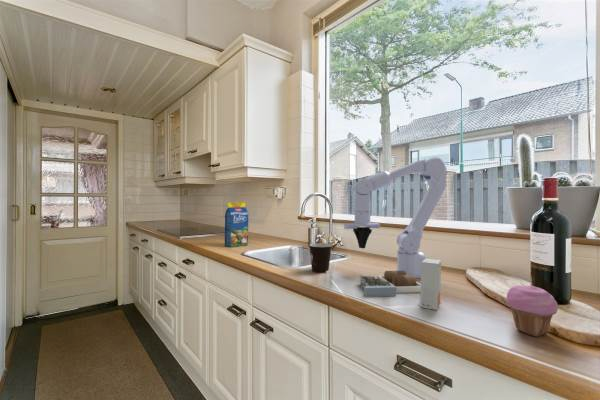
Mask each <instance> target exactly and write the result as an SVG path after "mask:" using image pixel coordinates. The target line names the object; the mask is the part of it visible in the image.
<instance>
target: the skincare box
mask: <svg viewBox="0 0 600 400" xmlns="http://www.w3.org/2000/svg"><path fill="white" fill-rule="evenodd" d="M441 274H442V260H441V259H432V258H426V259H425V260H423V261H422V262H421V278H420V284H421V292H420V295H419V296H420V297H419V298H420V299H419V302H420V304H419V305H420V306H419V307H420V308H422V309H423V308H424V309H428V310H429V309H430V310H434V311H438V308H439V306H440V304H441V287H442V286H441V283H442V282H441V281H442V279H441V278H442V275H441Z"/></svg>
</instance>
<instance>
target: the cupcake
mask: <svg viewBox="0 0 600 400" xmlns="http://www.w3.org/2000/svg"><path fill="white" fill-rule="evenodd" d="M506 304H507V306H509V309H510V311H511V313H512V316H513V322H514V325H515V328H516V329H517V330H518V331H520V332H522V333H526V334H527V335H529V336H532V337H540V336H542V335H547V334H548V333H549V332H550V329H551V321H552V318H553V315H555V314H557V312H558V309H559V305H558V302H557V301H556V299H555V297H554V296H553V295H552V294H551V293H549V292H548V291H547V290H545V289H544V288H541V287H537V286H533V285H513V286H512V287H510V288H509V289H508V291H507V294H506Z"/></svg>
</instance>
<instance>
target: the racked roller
mask: <svg viewBox="0 0 600 400" xmlns="http://www.w3.org/2000/svg"><path fill="white" fill-rule="evenodd" d="M393 275H406V272H405V271H397V270H385V271H384V274H383V276H384V279H385V280H387V281H388V282H390V283H392V277H393Z"/></svg>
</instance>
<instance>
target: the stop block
mask: <svg viewBox="0 0 600 400" xmlns="http://www.w3.org/2000/svg"><path fill="white" fill-rule="evenodd" d="M363 296H364V297H366V298H367V297H395V296H397V293H396V287H395V286H379V285H376V286H364V288H363Z"/></svg>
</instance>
